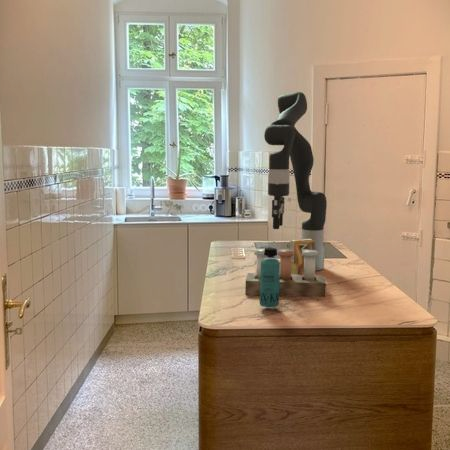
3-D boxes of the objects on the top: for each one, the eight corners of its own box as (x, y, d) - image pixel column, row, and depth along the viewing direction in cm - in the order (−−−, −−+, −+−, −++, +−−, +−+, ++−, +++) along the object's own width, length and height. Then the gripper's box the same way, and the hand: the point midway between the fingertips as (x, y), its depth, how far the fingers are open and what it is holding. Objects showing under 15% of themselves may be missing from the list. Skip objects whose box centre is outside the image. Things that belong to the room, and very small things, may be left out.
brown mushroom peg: (285, 276, 197) (286, 248, 195) (296, 279, 192) (297, 251, 191) (274, 278, 194) (274, 250, 192) (285, 282, 189) (285, 252, 188)
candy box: (308, 275, 219) (309, 238, 216) (313, 277, 215) (314, 240, 212) (289, 277, 216) (289, 239, 213) (293, 279, 212) (294, 241, 209)
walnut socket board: (245, 294, 189) (245, 280, 189) (247, 286, 201) (247, 273, 200) (325, 297, 186) (326, 283, 186) (323, 288, 198) (323, 275, 197)
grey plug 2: (309, 277, 196) (309, 249, 194) (320, 280, 192) (321, 251, 190) (298, 279, 193) (298, 251, 191) (309, 282, 188) (310, 253, 187)
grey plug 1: (262, 276, 198) (263, 248, 196) (272, 279, 193) (273, 250, 192) (251, 278, 195) (251, 249, 193) (261, 281, 190) (261, 252, 189)
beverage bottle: (257, 306, 175) (258, 246, 172) (277, 306, 176) (278, 246, 173) (260, 312, 169) (261, 250, 166) (281, 312, 169) (282, 250, 166)
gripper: (271, 180, 197) (270, 224, 200) (265, 183, 184) (264, 229, 186) (291, 181, 196) (290, 225, 198) (286, 183, 182) (285, 230, 184)
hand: (277, 227), depth 192 cm, fingers open, 8 cm apart
